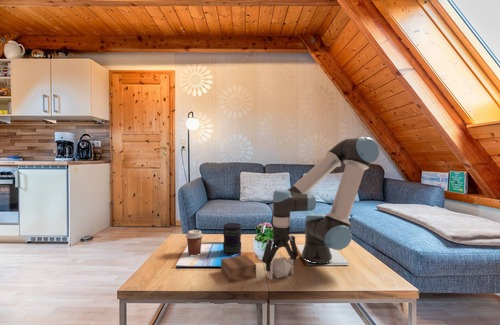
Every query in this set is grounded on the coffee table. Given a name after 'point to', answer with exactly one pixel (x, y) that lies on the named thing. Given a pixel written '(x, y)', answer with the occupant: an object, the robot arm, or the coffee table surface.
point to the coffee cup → (194, 242)
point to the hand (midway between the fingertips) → (280, 275)
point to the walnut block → (238, 268)
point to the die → (281, 267)
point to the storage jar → (232, 238)
